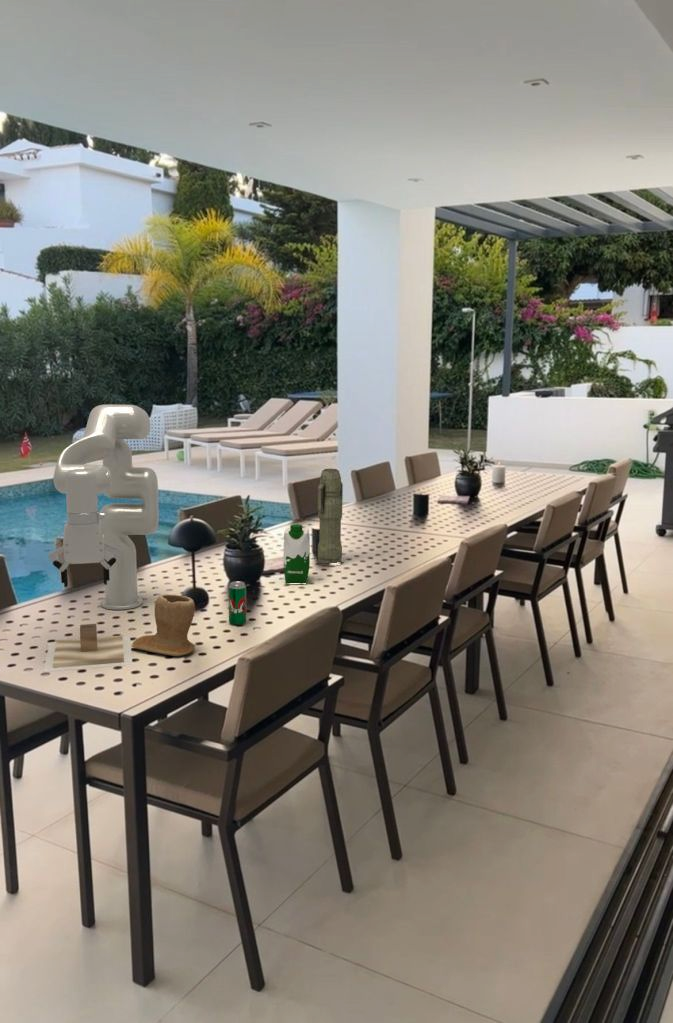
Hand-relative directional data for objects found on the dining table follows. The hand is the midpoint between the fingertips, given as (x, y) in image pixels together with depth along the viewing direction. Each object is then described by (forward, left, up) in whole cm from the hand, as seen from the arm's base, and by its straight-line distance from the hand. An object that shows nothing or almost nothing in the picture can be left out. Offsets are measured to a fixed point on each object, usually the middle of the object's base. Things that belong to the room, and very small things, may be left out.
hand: (85, 584), depth 217 cm
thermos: (-77, +84, -19) cm, 116 cm away
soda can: (-17, +41, -19) cm, 49 cm away
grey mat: (0, 0, -19) cm, 19 cm away
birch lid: (0, 0, -19) cm, 19 cm away
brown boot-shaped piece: (+1, +20, -19) cm, 28 cm away
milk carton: (-56, +67, -19) cm, 90 cm away
